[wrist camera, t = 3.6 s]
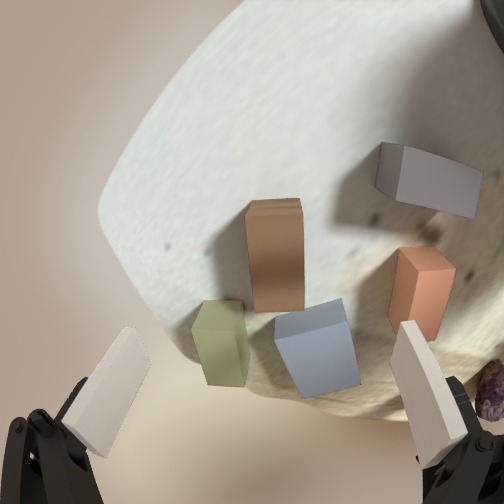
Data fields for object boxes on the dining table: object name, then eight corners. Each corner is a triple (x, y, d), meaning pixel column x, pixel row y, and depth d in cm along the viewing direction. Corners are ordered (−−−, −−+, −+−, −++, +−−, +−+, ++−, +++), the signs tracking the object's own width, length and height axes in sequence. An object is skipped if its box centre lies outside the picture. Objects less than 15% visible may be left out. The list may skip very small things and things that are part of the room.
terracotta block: (398, 247, 23) (418, 271, 19) (432, 245, 23) (456, 268, 18) (387, 315, 27) (400, 345, 22) (418, 311, 26) (434, 340, 22)
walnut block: (252, 200, 23) (244, 216, 19) (299, 197, 23) (303, 213, 18) (260, 281, 27) (254, 312, 22) (301, 280, 26) (304, 311, 21)
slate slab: (275, 314, 28) (273, 340, 25) (340, 296, 26) (347, 320, 23) (301, 373, 32) (301, 398, 28) (355, 359, 30) (361, 384, 26)
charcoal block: (374, 187, 22) (395, 200, 17) (380, 142, 20) (404, 145, 15) (445, 203, 21) (473, 219, 16) (452, 163, 19) (483, 172, 15)
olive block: (204, 299, 28) (190, 329, 24) (242, 299, 28) (234, 331, 23) (217, 354, 31) (208, 385, 27) (250, 355, 31) (244, 387, 26)
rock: (499, 343, 28) (457, 383, 32) (521, 374, 20) (472, 418, 24) (513, 371, 29) (476, 405, 32) (530, 398, 21) (489, 435, 24)
